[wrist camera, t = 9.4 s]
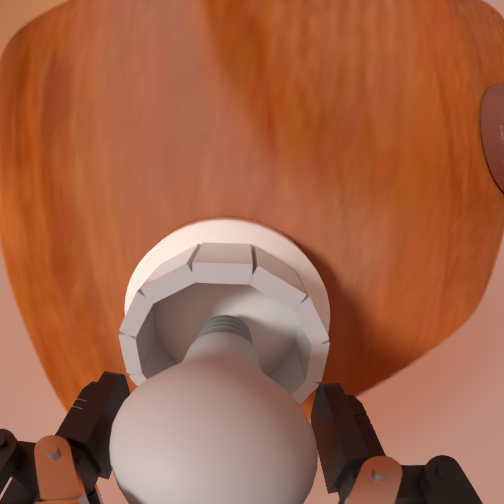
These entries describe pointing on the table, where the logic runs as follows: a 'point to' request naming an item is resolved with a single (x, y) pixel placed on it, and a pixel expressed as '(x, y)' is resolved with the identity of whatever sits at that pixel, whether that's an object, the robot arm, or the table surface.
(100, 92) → the table surface
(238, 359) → the lightbulb
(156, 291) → the lamp base
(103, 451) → the robot arm
